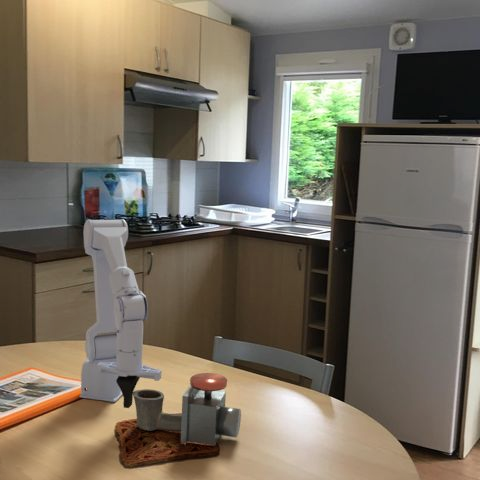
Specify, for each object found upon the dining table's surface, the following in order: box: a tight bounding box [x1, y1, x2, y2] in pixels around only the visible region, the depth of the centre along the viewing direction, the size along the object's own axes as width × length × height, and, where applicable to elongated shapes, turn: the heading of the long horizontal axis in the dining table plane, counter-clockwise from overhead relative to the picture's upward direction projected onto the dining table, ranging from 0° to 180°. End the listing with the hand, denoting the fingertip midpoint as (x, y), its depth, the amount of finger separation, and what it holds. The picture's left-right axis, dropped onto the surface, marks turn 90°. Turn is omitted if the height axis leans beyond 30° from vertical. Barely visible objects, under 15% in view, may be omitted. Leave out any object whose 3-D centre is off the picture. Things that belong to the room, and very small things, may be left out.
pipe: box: [133, 388, 182, 433], centre depth 138 cm, size 6×13×8 cm, turn 76°
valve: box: [180, 372, 242, 445], centre depth 136 cm, size 12×11×13 cm
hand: (128, 406), depth 140 cm, fingers closed
